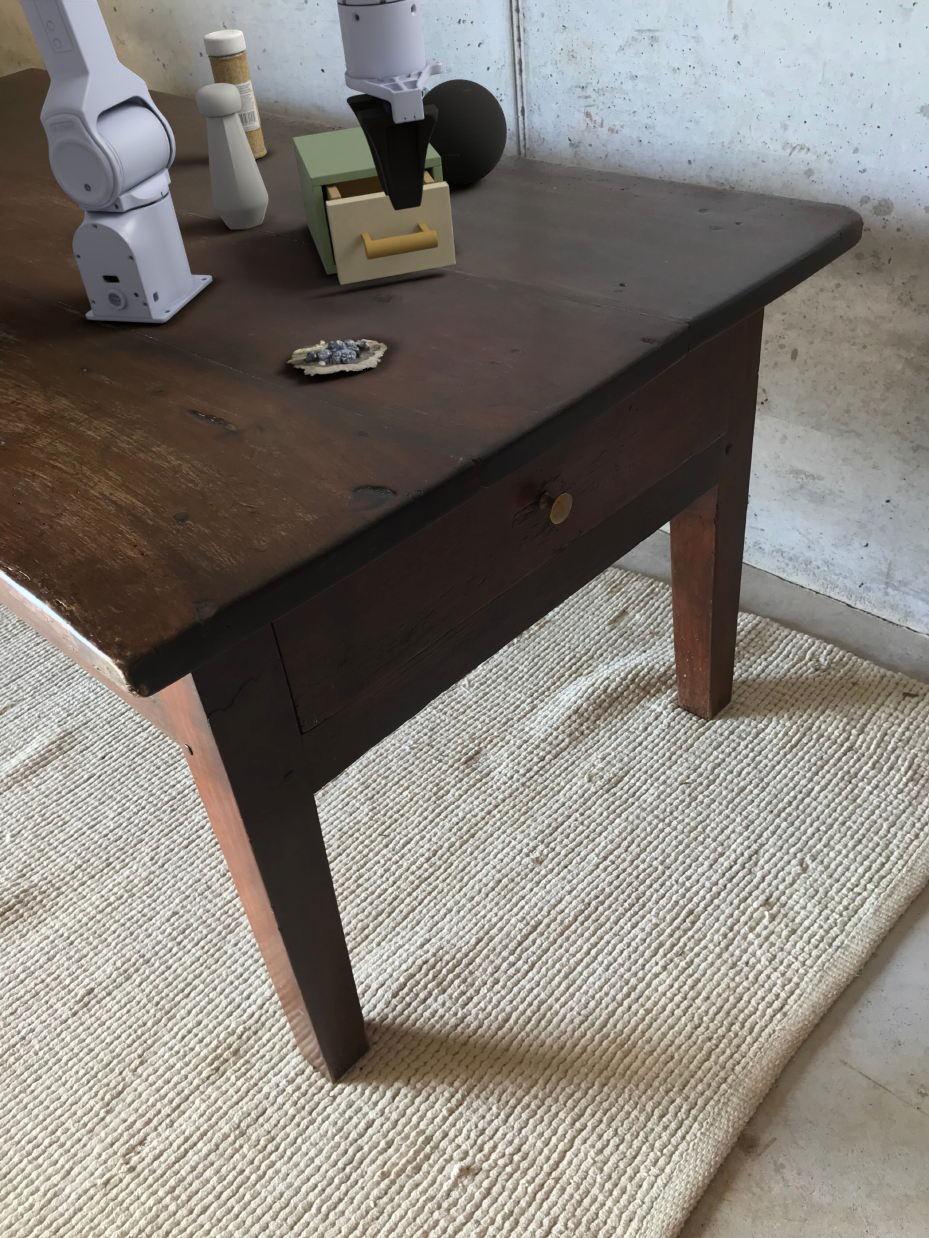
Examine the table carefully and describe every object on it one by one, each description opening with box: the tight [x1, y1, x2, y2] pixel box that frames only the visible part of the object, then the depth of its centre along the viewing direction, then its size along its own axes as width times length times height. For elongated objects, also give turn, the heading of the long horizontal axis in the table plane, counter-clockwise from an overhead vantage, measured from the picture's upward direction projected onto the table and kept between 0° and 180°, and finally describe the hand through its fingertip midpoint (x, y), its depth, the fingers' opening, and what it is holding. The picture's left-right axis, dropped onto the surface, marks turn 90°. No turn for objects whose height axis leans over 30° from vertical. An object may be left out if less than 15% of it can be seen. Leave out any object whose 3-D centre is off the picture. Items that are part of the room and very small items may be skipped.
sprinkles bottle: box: [203, 29, 267, 160], centre depth 121 cm, size 5×5×14 cm
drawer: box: [321, 170, 457, 286], centre depth 91 cm, size 17×10×7 cm, turn 14°
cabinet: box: [292, 126, 443, 276], centre depth 97 cm, size 14×12×9 cm
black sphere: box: [422, 78, 508, 186], centre depth 108 cm, size 10×10×10 cm
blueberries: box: [286, 338, 388, 377], centre depth 79 cm, size 7×8×2 cm
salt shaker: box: [195, 82, 269, 230], centre depth 103 cm, size 6×6×13 cm
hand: (402, 200), depth 79 cm, fingers open, 3 cm apart
